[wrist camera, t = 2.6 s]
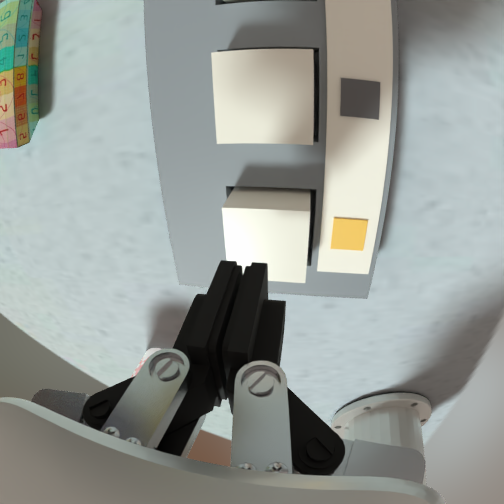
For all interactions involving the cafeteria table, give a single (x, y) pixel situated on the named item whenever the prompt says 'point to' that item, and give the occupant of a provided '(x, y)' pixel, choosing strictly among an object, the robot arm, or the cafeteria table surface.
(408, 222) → the cafeteria table surface
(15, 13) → the puzzle game
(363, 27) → the button board
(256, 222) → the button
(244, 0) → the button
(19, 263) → the cafeteria table surface
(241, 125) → the button middle
